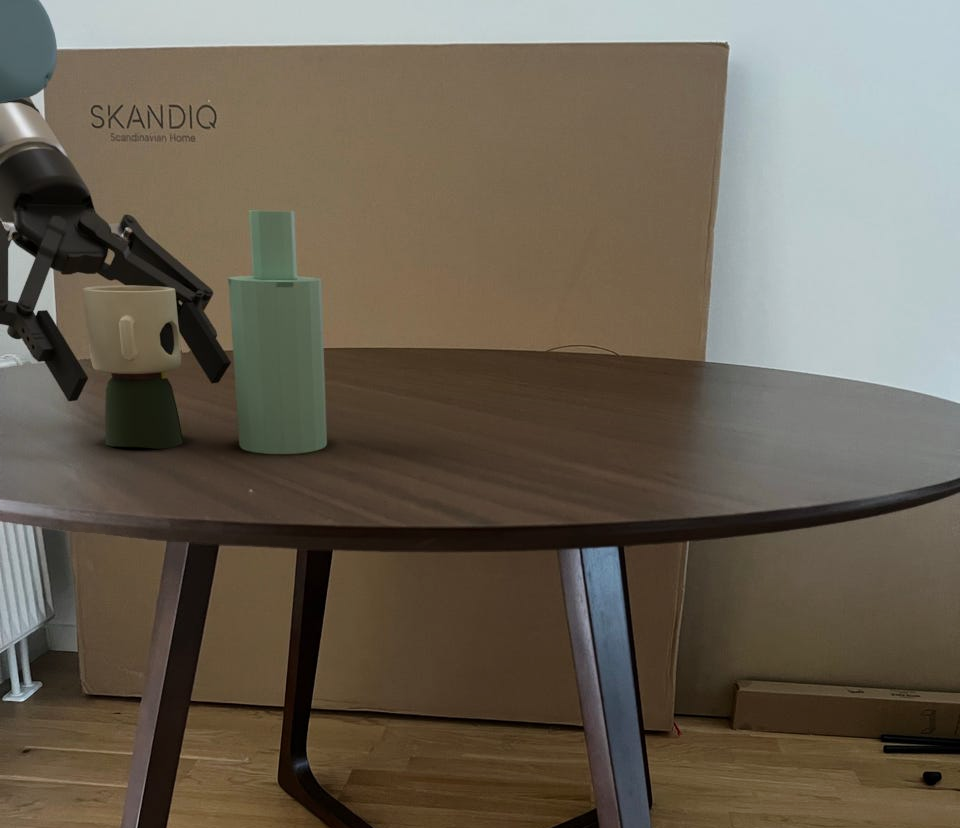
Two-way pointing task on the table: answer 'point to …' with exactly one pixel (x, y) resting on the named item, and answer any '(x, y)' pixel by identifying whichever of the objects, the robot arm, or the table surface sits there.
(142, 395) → the character mug
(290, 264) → the bottle
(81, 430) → the table surface
